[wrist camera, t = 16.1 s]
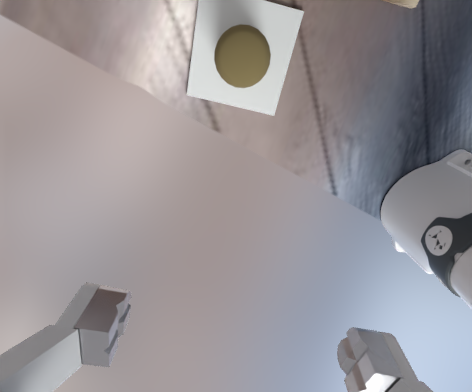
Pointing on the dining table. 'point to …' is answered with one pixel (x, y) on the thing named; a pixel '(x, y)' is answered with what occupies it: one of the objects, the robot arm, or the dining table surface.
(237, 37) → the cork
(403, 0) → the board
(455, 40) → the dining table surface
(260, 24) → the mat
